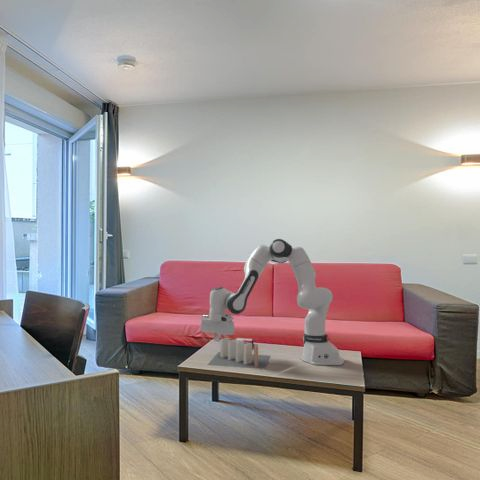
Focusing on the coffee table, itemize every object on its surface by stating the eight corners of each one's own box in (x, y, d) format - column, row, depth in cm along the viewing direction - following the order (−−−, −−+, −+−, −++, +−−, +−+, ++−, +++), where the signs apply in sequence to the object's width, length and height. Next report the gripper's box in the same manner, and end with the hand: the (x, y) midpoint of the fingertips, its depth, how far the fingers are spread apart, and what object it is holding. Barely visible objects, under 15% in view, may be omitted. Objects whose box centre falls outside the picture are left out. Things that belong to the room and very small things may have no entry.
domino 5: (254, 366, 192) (255, 346, 192) (254, 363, 197) (254, 344, 197) (258, 366, 192) (258, 346, 192) (257, 363, 197) (257, 344, 197)
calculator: (231, 344, 224) (236, 337, 239) (231, 351, 224) (236, 343, 239) (249, 345, 222) (253, 338, 237) (249, 352, 222) (253, 345, 237)
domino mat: (270, 356, 212) (270, 355, 212) (265, 370, 189) (265, 369, 189) (218, 353, 217) (218, 352, 217) (207, 365, 195) (207, 364, 195)
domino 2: (227, 359, 204) (228, 340, 204) (234, 357, 208) (234, 339, 208) (230, 360, 203) (230, 341, 203) (236, 358, 207) (236, 339, 207)
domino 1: (220, 357, 207) (220, 339, 208) (226, 355, 211) (226, 337, 211) (222, 357, 206) (222, 339, 207) (228, 355, 210) (228, 337, 210)
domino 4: (243, 363, 197) (243, 344, 197) (249, 361, 201) (249, 342, 201) (245, 364, 196) (246, 345, 196) (252, 362, 199) (252, 343, 200)
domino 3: (235, 361, 200) (235, 342, 200) (241, 359, 204) (241, 340, 204) (237, 362, 199) (238, 343, 199) (243, 360, 203) (244, 341, 203)
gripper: (198, 315, 215) (197, 340, 215) (230, 319, 206) (230, 344, 206) (204, 313, 220) (203, 337, 220) (235, 317, 212) (235, 341, 212)
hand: (216, 341), depth 213 cm, fingers closed
